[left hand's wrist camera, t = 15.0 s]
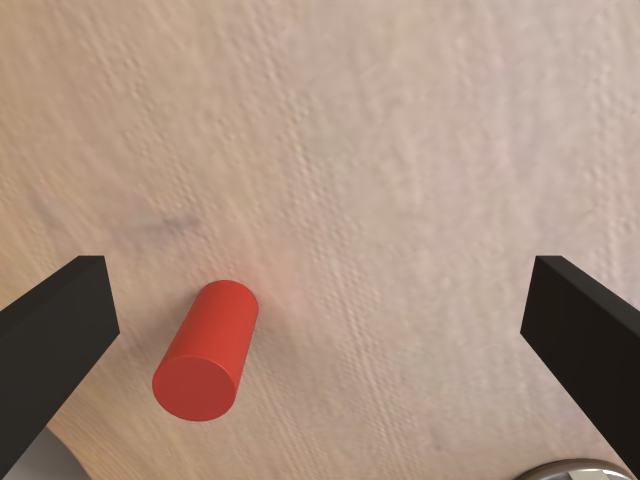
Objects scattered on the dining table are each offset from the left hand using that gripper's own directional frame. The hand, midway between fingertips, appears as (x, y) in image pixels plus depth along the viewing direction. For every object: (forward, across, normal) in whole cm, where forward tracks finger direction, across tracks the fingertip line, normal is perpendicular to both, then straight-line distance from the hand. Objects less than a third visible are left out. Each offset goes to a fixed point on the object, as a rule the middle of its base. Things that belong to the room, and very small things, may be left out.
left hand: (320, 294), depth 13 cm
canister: (+19, -8, -12) cm, 24 cm away
